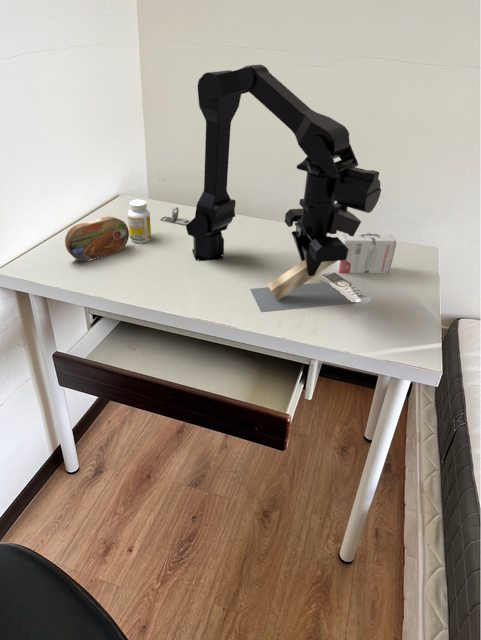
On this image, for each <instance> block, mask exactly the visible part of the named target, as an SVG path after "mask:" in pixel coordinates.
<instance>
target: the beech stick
mask: <svg viewBox="0 0 481 640" xmlns="http://www.w3.org/2000/svg"><path fill="white" fill-rule="evenodd" d="M335 262H336V261H327V262H321V264H320V266H319V268H318V269H317V271H316V273H315V275H314V276H309V275H308V271H307V267H306V262H305V260H303V261H302V262H301V261H300V262H299V263H297V264H296V265H294V266H293V267H292V268H290V269H289V270H287V271H286V272H284V273H283V274H281V275H280V276H278V277H276V278H275V279H274V280H272V281H271V282H269V283H268V284H267V287H269V288H270V290H271V292H272V293H273V294H274V296H275V297H276V298H277V300H280V299H281V298H283V297H284V296H286V295H287V294H289V293H290V292H292V291H293V290H295V289H296V288H298V287H299V286H301V285H302V284H306V282H308V281H309V280H312V278H314V277H315V276H317V275H318V274H320V273H321V272H323V271H325V270H326V269H327V268H329V267H331V266H332V265H333V264H335Z"/></svg>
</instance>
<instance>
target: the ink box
mask: <svg viewBox="0 0 481 640" xmlns="http://www.w3.org/2000/svg"><path fill="white" fill-rule="evenodd" d="M338 238H339V239H340V240H341V241H342V242H343V244H344V245H345V246H346V247H347V248H348V249H349V250H348V256H347V259H346V260H340V261H336V262H335V263H334V265H335V267H336V269H337V272H338V273H339V274H388V273H390V272H391V268H392V263H393V259H394V256H395V250H396V247H397V239H395V237H393V235H392V233H389V232H383V233H382V232H378V233H377V232H356V233H355V234H354V236H349V234H346V233H343V232H339V237H338Z"/></svg>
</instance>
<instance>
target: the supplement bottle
mask: <svg viewBox="0 0 481 640" xmlns="http://www.w3.org/2000/svg"><path fill="white" fill-rule="evenodd" d="M147 207H148V206H147V201H145V200H142V199H133V200H131V201H130V202H129V210H128V212H127V222H128V230H129V239H130V241H131V242H132V243H136V244H144V243H148V242H150V240H151V239H152V230H151V229H152V227H151V226H152V225H151V213H150V210H148V209H147Z"/></svg>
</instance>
